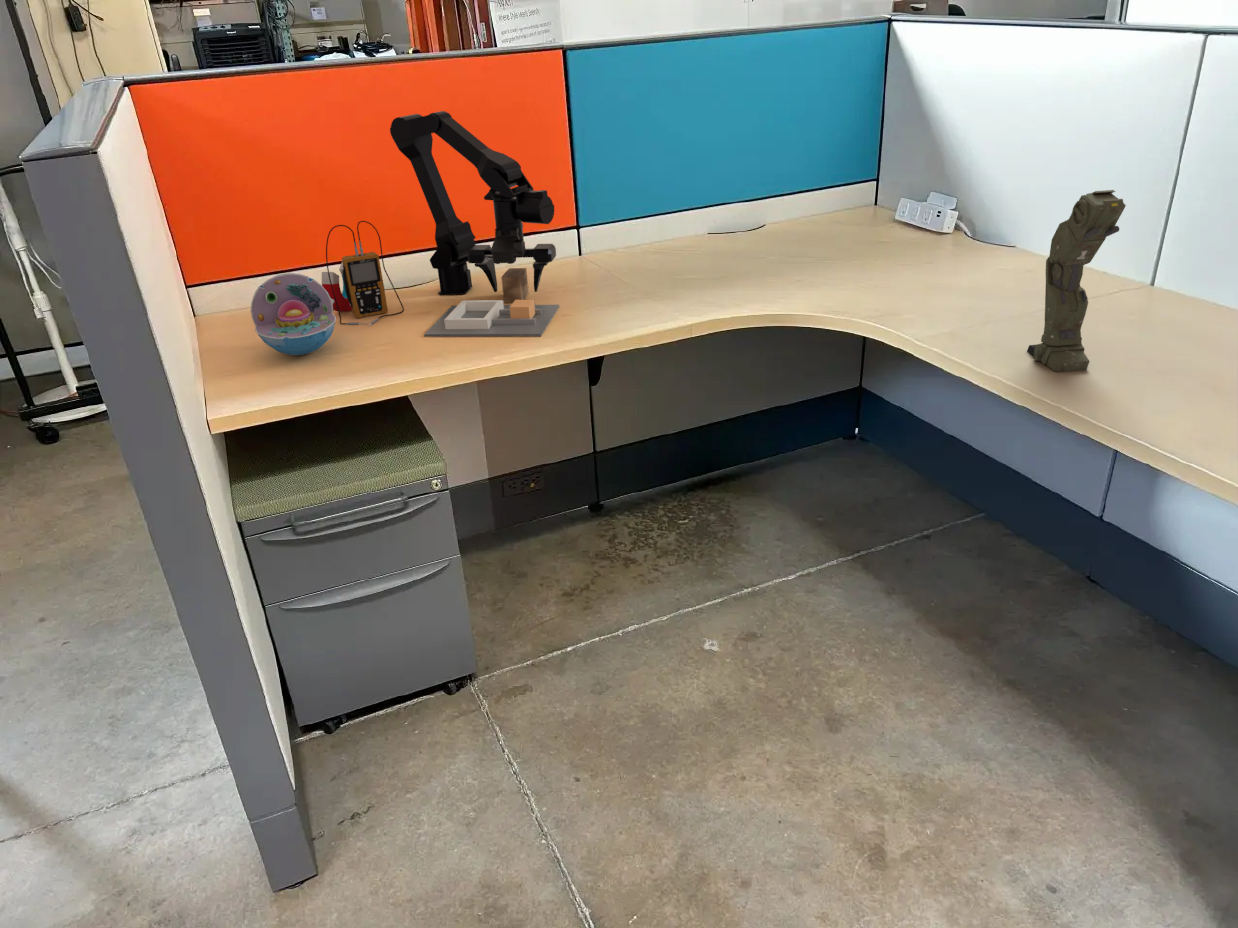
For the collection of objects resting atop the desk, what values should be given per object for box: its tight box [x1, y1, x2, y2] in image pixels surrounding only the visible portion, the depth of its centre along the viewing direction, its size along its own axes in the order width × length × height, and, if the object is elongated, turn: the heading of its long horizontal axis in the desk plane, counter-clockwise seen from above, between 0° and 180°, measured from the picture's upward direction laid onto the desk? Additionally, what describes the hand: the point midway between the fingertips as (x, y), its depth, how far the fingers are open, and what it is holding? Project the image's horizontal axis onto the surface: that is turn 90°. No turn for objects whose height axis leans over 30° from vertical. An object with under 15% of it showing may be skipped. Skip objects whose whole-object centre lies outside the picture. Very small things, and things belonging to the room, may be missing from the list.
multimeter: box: [325, 220, 405, 327], centre depth 187 cm, size 15×10×20 cm
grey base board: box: [424, 299, 560, 338], centre depth 186 cm, size 24×19×2 cm
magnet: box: [321, 262, 352, 313], centre depth 196 cm, size 12×3×10 cm, turn 169°
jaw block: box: [501, 267, 530, 304], centre depth 199 cm, size 4×7×6 cm, turn 173°
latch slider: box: [510, 299, 536, 318], centre depth 184 cm, size 4×5×3 cm
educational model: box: [250, 272, 337, 356], centre depth 172 cm, size 16×19×15 cm
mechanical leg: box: [1026, 189, 1127, 373], centre depth 145 cm, size 14×7×30 cm, turn 5°
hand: (515, 291), depth 200 cm, fingers open, 9 cm apart
